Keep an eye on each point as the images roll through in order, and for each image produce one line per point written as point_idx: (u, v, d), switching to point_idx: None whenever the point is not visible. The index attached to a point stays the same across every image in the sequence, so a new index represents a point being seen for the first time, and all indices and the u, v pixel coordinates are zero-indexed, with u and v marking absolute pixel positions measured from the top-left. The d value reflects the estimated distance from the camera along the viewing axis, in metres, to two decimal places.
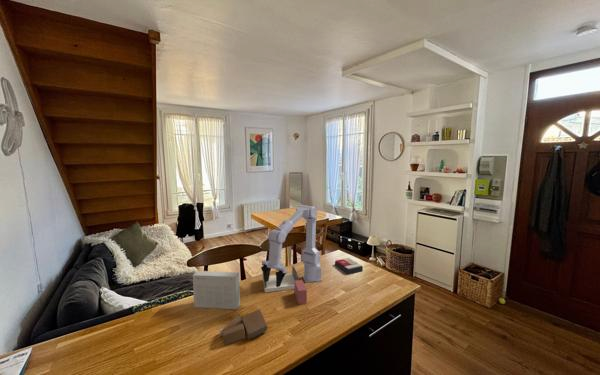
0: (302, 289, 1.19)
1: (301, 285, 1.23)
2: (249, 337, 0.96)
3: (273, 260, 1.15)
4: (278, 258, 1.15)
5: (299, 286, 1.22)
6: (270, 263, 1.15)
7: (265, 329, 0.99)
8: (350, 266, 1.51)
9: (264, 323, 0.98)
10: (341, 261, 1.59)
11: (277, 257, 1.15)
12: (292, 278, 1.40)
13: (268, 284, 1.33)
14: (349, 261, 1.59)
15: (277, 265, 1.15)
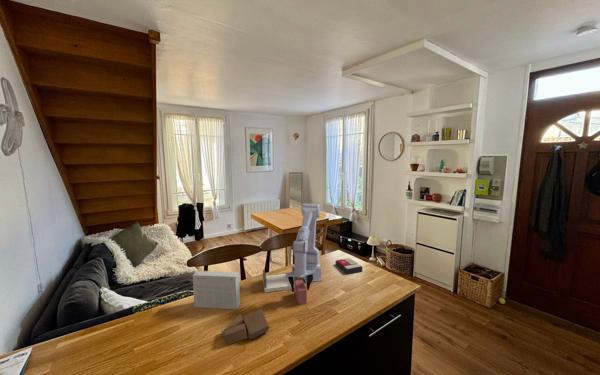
0: (302, 289, 1.19)
1: (301, 285, 1.23)
2: (251, 337, 0.96)
3: (304, 269, 1.20)
4: (306, 265, 1.22)
5: (299, 286, 1.22)
6: (301, 273, 1.19)
7: (267, 329, 0.98)
8: (350, 266, 1.51)
9: (266, 323, 0.98)
10: (341, 261, 1.59)
11: (305, 265, 1.21)
12: None
13: (268, 284, 1.33)
14: (349, 261, 1.59)
15: (306, 271, 1.22)
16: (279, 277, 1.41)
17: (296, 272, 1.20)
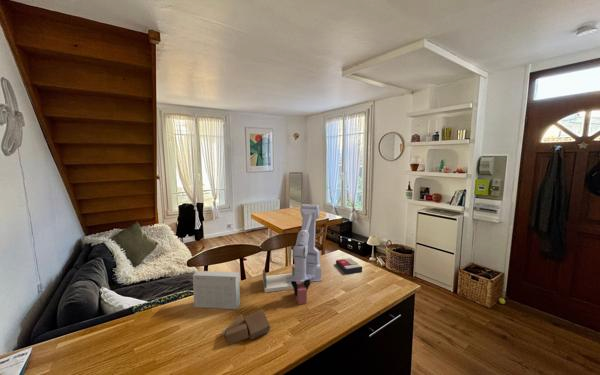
0: (302, 289, 1.19)
1: (301, 285, 1.23)
2: (252, 337, 0.96)
3: (304, 273, 1.20)
4: (306, 270, 1.22)
5: (299, 286, 1.22)
6: (301, 277, 1.20)
7: (268, 329, 0.99)
8: (349, 266, 1.51)
9: (267, 323, 0.98)
10: (342, 261, 1.59)
11: (305, 269, 1.22)
12: None
13: (268, 284, 1.33)
14: (350, 261, 1.58)
15: (306, 276, 1.22)
16: (279, 277, 1.41)
17: (296, 277, 1.20)
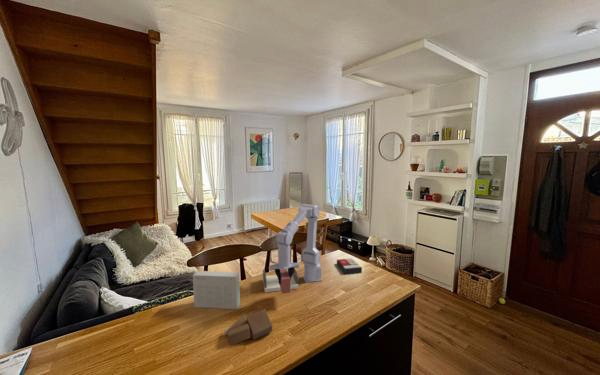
0: (285, 278, 1.17)
1: (285, 274, 1.21)
2: (254, 337, 0.96)
3: (288, 261, 1.18)
4: (289, 257, 1.20)
5: (283, 275, 1.20)
6: (285, 265, 1.18)
7: (270, 329, 0.98)
8: (348, 266, 1.51)
9: (269, 323, 0.98)
10: (342, 261, 1.60)
11: (289, 257, 1.19)
12: (292, 278, 1.40)
13: (268, 284, 1.33)
14: (350, 261, 1.58)
15: (289, 264, 1.20)
16: None
17: (279, 264, 1.18)
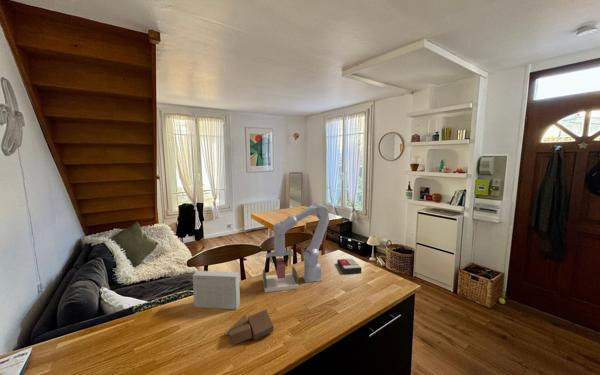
0: (281, 265, 1.31)
1: (280, 261, 1.35)
2: (255, 337, 0.95)
3: (283, 249, 1.33)
4: (284, 246, 1.35)
5: (278, 262, 1.34)
6: (280, 252, 1.33)
7: (271, 330, 0.98)
8: (348, 266, 1.51)
9: (270, 324, 0.98)
10: (342, 260, 1.60)
11: (284, 245, 1.34)
12: (292, 278, 1.40)
13: (268, 284, 1.33)
14: (350, 261, 1.58)
15: (284, 252, 1.35)
16: None
17: (275, 252, 1.33)
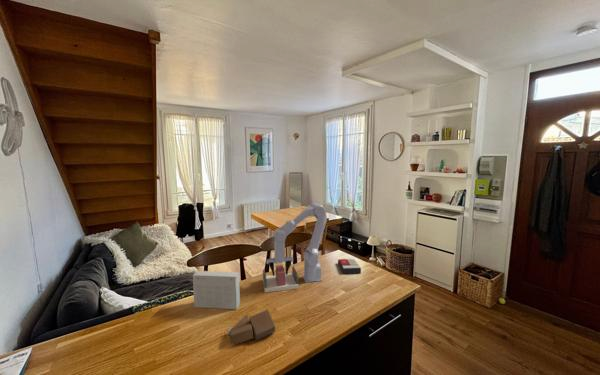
0: (281, 272, 1.32)
1: (280, 269, 1.36)
2: (257, 338, 0.95)
3: (283, 255, 1.34)
4: (284, 252, 1.36)
5: (278, 270, 1.35)
6: (280, 259, 1.33)
7: (273, 330, 0.98)
8: (347, 266, 1.51)
9: (272, 324, 0.98)
10: (343, 260, 1.60)
11: (284, 251, 1.35)
12: (292, 278, 1.40)
13: (268, 284, 1.33)
14: (351, 262, 1.58)
15: (284, 258, 1.36)
16: None
17: (276, 258, 1.34)
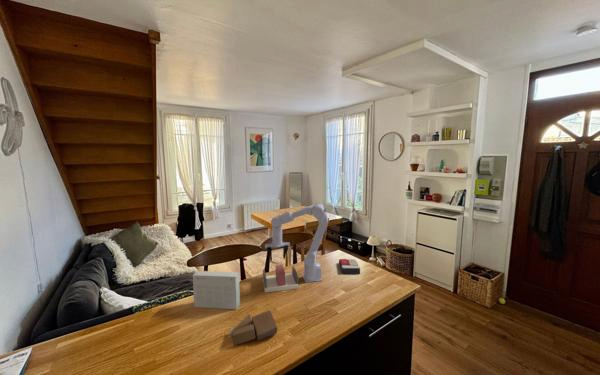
0: (281, 272, 1.32)
1: (280, 269, 1.36)
2: (259, 338, 0.95)
3: (280, 240, 1.43)
4: None
5: (278, 270, 1.35)
6: (278, 243, 1.42)
7: (275, 331, 0.98)
8: (347, 266, 1.51)
9: (274, 325, 0.97)
10: (343, 260, 1.60)
11: (281, 237, 1.44)
12: (292, 278, 1.40)
13: (268, 284, 1.33)
14: (351, 262, 1.58)
15: (282, 243, 1.45)
16: None
17: (273, 243, 1.43)
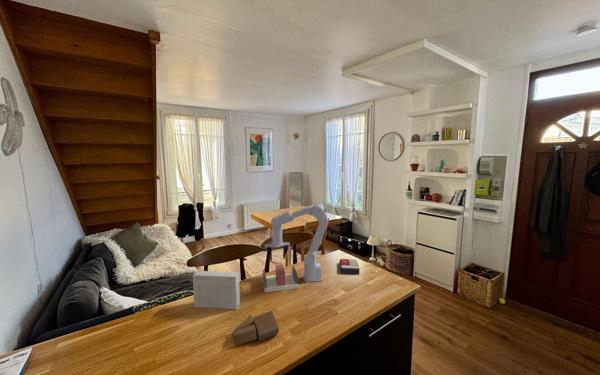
0: (281, 272, 1.32)
1: (280, 269, 1.36)
2: (260, 339, 0.95)
3: (280, 240, 1.43)
4: None
5: (278, 270, 1.35)
6: (278, 243, 1.42)
7: (277, 331, 0.97)
8: (346, 266, 1.51)
9: (276, 325, 0.97)
10: (344, 260, 1.60)
11: (281, 237, 1.44)
12: (292, 278, 1.40)
13: (268, 284, 1.33)
14: (351, 262, 1.57)
15: (282, 243, 1.45)
16: None
17: (273, 243, 1.43)
